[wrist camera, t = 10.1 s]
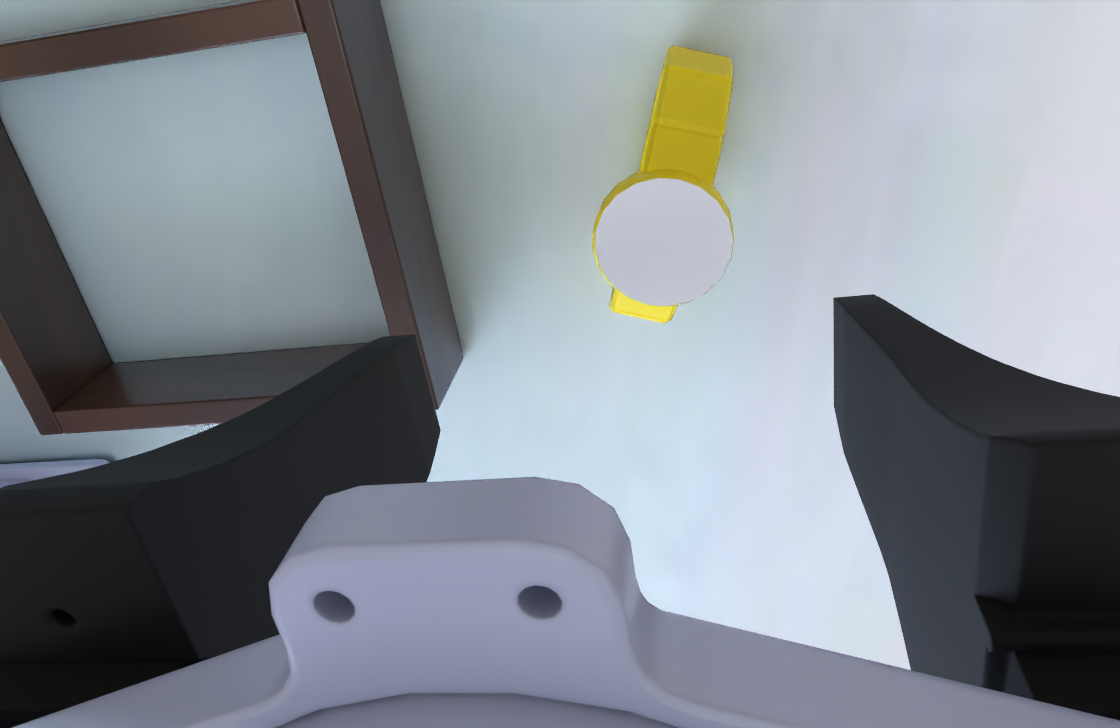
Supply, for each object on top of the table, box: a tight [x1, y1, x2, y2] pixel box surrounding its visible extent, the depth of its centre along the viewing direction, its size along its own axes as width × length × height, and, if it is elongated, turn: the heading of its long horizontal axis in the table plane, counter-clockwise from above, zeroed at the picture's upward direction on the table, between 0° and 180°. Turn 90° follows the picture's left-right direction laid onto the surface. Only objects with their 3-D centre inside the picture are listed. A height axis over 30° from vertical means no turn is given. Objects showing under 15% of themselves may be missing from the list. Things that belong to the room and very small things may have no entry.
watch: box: [593, 46, 734, 323], centre depth 19 cm, size 6×3×6 cm, turn 170°
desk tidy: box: [0, 0, 463, 435], centre depth 23 cm, size 13×11×3 cm
